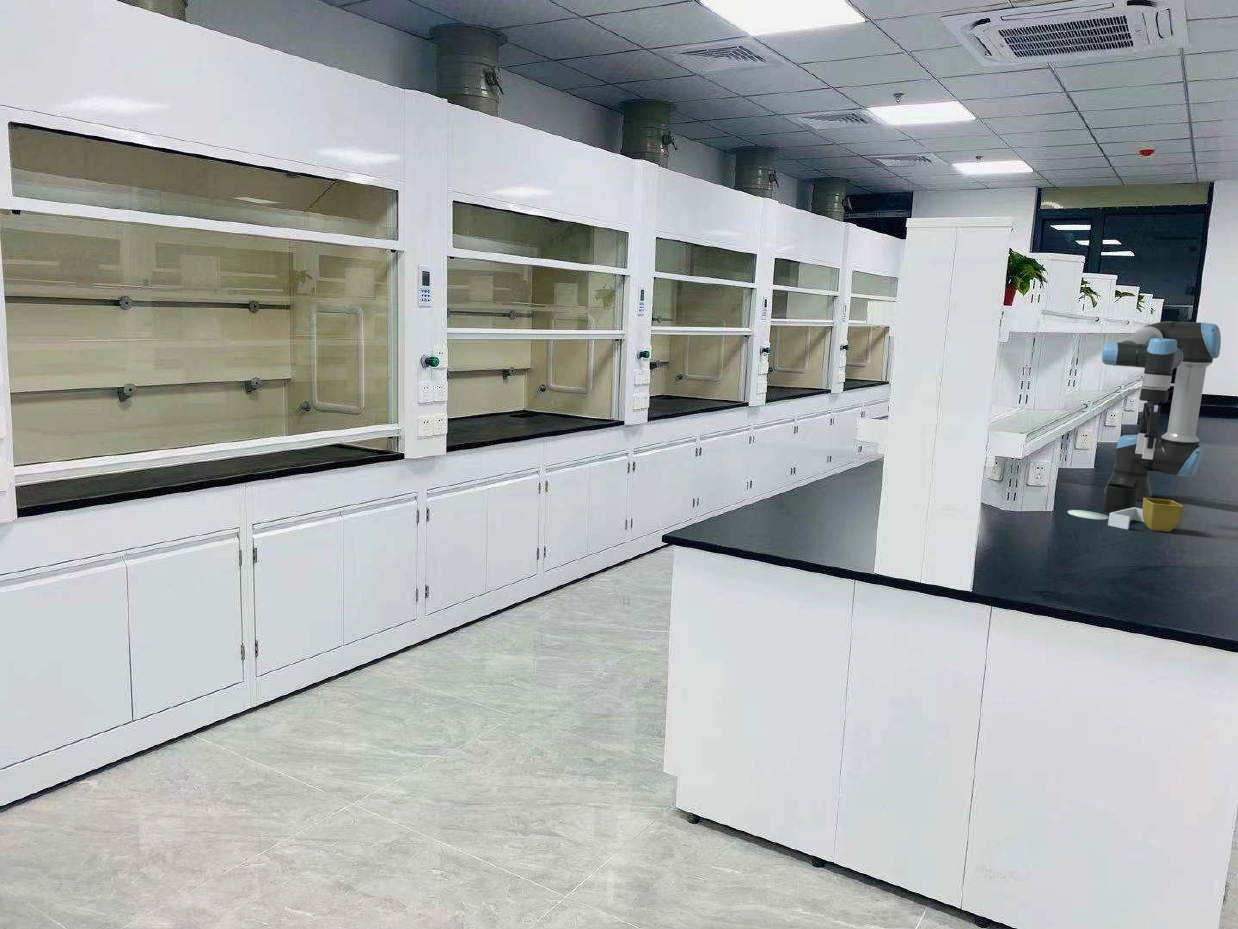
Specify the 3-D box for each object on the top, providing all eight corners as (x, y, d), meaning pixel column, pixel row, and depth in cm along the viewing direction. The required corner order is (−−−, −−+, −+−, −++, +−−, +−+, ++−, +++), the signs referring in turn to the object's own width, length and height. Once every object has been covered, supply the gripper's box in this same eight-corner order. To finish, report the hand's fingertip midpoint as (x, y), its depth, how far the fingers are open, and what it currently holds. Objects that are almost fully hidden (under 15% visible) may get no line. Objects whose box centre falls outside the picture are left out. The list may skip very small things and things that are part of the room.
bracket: (1132, 519, 291) (1133, 507, 290) (1151, 523, 286) (1153, 511, 286) (1107, 525, 280) (1109, 512, 279) (1127, 529, 275) (1129, 516, 274)
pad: (1077, 509, 301) (1077, 508, 301) (1114, 517, 292) (1115, 516, 292) (1061, 513, 294) (1061, 512, 294) (1098, 521, 285) (1098, 520, 285)
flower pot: (1179, 534, 272) (1184, 506, 271) (1148, 531, 274) (1153, 503, 272) (1168, 528, 281) (1172, 500, 279) (1137, 525, 283) (1142, 497, 281)
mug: (1141, 513, 302) (1145, 487, 300) (1128, 517, 294) (1132, 490, 292) (1111, 507, 309) (1115, 481, 307) (1098, 511, 301) (1102, 485, 299)
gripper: (1135, 385, 288) (1124, 450, 291) (1148, 389, 265) (1136, 459, 269) (1161, 387, 285) (1150, 453, 289) (1177, 391, 262) (1164, 462, 266)
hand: (1143, 456), depth 279 cm, fingers open, 13 cm apart
